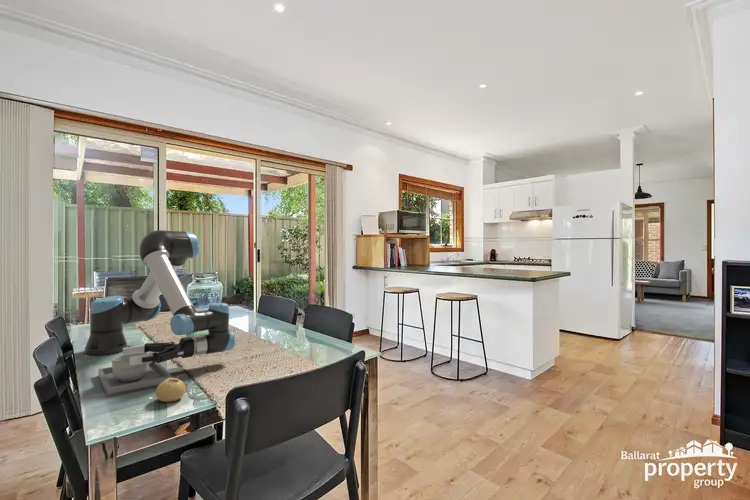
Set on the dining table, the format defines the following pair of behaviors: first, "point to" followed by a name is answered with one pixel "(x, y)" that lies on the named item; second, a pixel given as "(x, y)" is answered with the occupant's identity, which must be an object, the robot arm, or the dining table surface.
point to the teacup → (129, 367)
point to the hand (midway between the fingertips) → (126, 356)
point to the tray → (149, 380)
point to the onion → (170, 390)
